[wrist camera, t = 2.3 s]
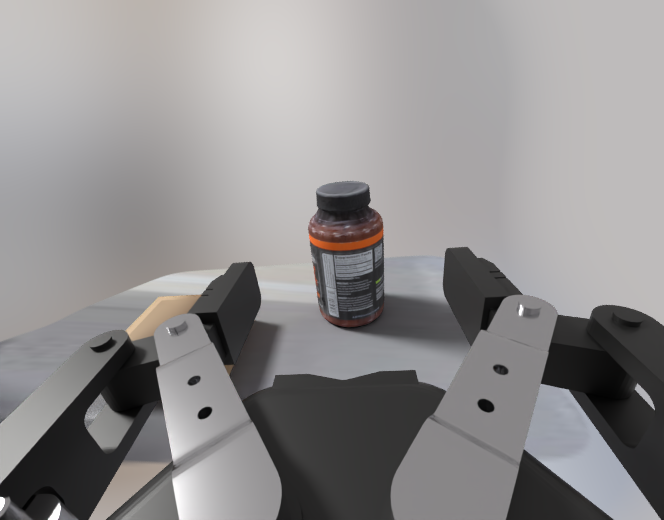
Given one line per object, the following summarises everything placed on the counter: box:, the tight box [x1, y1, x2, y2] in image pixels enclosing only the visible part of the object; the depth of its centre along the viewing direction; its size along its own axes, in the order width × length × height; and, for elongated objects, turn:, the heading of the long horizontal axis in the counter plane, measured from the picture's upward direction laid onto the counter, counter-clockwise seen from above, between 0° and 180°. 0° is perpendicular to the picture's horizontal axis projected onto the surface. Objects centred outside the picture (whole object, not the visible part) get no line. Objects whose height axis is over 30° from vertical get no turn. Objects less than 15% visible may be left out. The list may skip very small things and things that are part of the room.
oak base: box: [126, 295, 234, 375], centre depth 23 cm, size 8×8×3 cm
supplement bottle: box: [308, 181, 384, 327], centre depth 25 cm, size 6×6×11 cm
